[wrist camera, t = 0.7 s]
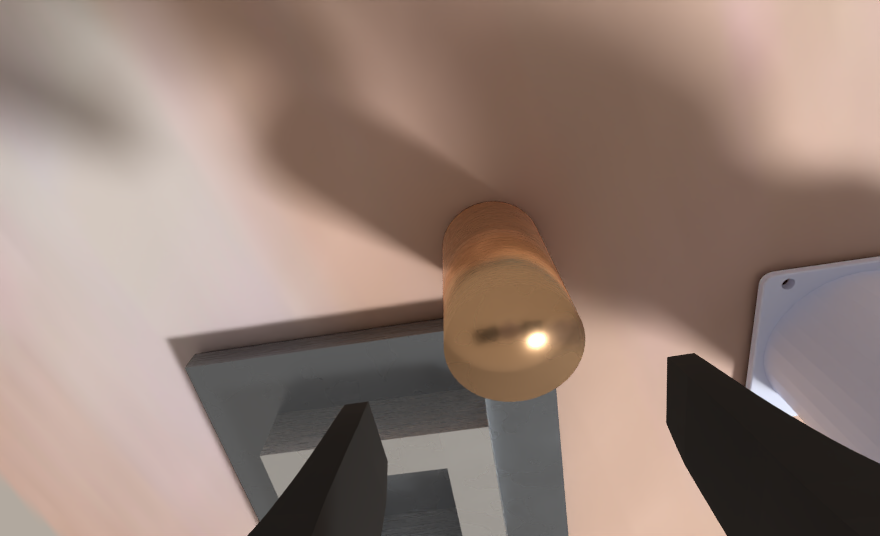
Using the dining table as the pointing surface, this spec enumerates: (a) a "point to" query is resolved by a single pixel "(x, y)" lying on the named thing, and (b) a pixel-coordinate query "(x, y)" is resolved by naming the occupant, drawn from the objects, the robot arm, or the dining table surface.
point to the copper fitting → (505, 307)
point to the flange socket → (390, 429)
